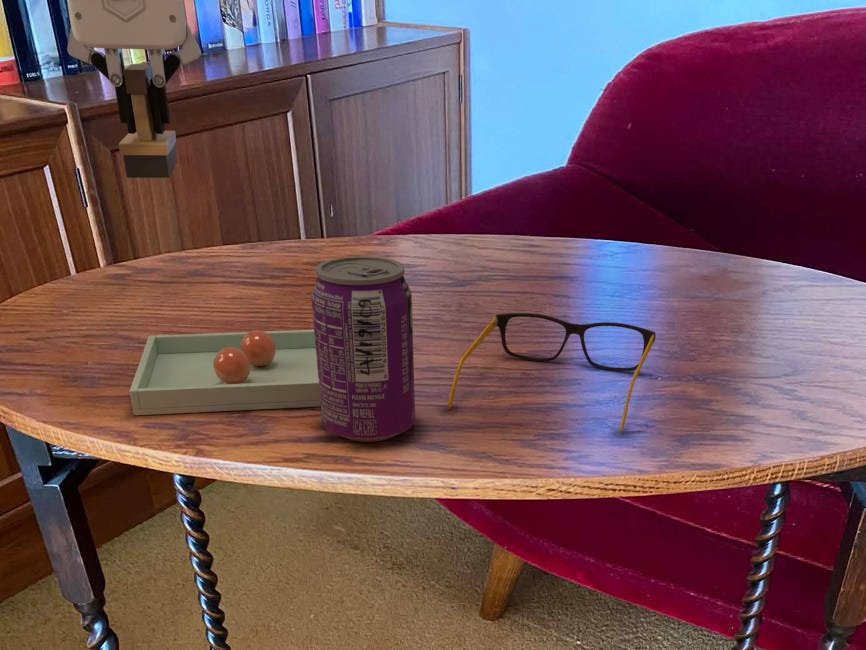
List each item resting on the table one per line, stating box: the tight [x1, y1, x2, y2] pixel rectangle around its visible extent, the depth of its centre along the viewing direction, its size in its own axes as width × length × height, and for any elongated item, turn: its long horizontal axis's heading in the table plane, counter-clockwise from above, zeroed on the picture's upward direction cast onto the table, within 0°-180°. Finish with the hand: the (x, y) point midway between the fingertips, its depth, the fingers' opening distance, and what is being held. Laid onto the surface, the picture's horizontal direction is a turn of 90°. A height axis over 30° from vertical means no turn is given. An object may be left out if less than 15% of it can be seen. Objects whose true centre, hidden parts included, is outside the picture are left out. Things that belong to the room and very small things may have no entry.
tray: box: [128, 329, 321, 416], centre depth 81 cm, size 18×13×2 cm
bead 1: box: [213, 347, 251, 384], centre depth 79 cm, size 3×3×3 cm
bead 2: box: [240, 329, 276, 367], centre depth 82 cm, size 3×3×3 cm
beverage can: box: [310, 255, 416, 443], centre depth 70 cm, size 7×7×12 cm
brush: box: [118, 63, 178, 179], centre depth 95 cm, size 4×9×9 cm, turn 9°
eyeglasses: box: [447, 312, 657, 433], centre depth 80 cm, size 14×14×4 cm
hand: (147, 130), depth 95 cm, fingers closed on brush
